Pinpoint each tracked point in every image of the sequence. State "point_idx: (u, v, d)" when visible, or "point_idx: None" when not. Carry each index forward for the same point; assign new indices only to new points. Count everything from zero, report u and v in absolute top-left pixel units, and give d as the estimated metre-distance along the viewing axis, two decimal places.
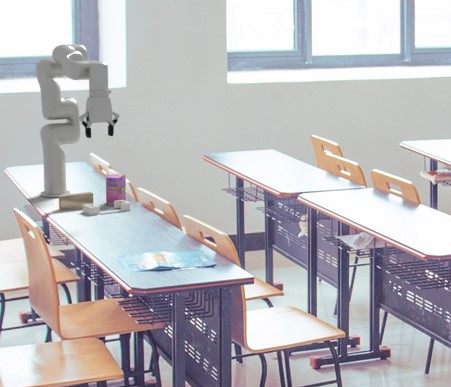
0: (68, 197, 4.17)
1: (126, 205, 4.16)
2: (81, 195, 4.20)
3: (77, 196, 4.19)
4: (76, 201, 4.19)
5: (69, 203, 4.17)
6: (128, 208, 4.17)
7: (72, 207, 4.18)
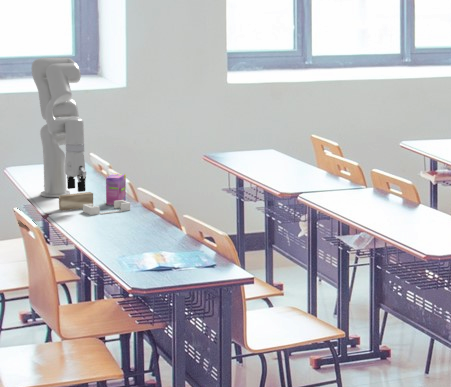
0: (68, 197, 4.17)
1: (126, 205, 4.16)
2: (81, 195, 4.20)
3: (77, 196, 4.19)
4: (76, 201, 4.19)
5: (69, 203, 4.17)
6: (128, 208, 4.17)
7: (72, 207, 4.18)
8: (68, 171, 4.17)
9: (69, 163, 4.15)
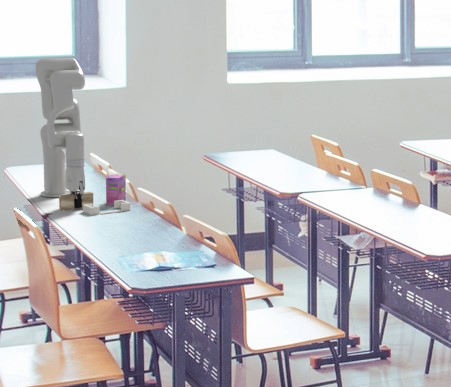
0: (68, 197, 4.16)
1: (126, 205, 4.16)
2: None
3: None
4: None
5: (69, 203, 4.17)
6: (128, 208, 4.17)
7: (72, 207, 4.18)
8: (68, 185, 4.18)
9: (69, 178, 4.17)
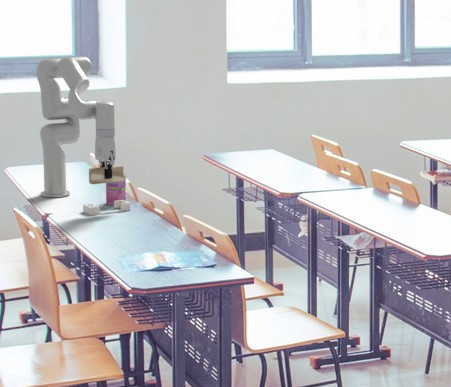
0: (98, 170, 4.09)
1: (126, 205, 4.16)
2: None
3: None
4: None
5: (99, 176, 4.09)
6: (128, 208, 4.17)
7: (102, 181, 4.10)
8: (98, 156, 4.10)
9: (99, 148, 4.09)
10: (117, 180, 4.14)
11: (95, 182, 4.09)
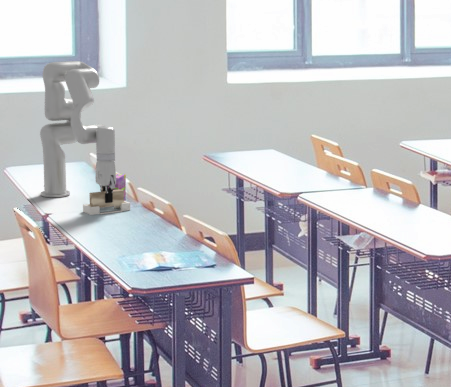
0: (99, 194, 4.10)
1: (126, 205, 4.16)
2: None
3: None
4: None
5: (100, 200, 4.11)
6: (128, 208, 4.17)
7: (103, 205, 4.12)
8: (99, 180, 4.12)
9: (100, 172, 4.11)
10: (118, 204, 4.16)
11: None
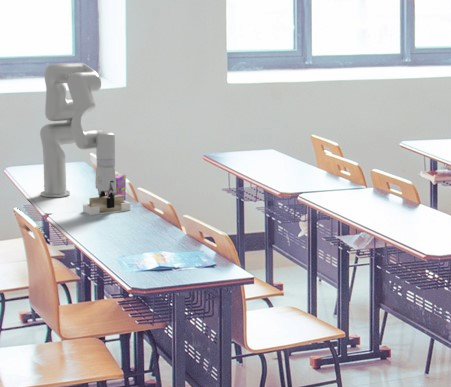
0: (99, 200, 4.11)
1: (126, 205, 4.16)
2: None
3: None
4: None
5: (100, 206, 4.12)
6: (128, 208, 4.17)
7: (103, 210, 4.13)
8: (98, 185, 4.13)
9: (100, 177, 4.11)
10: (117, 209, 4.16)
11: None
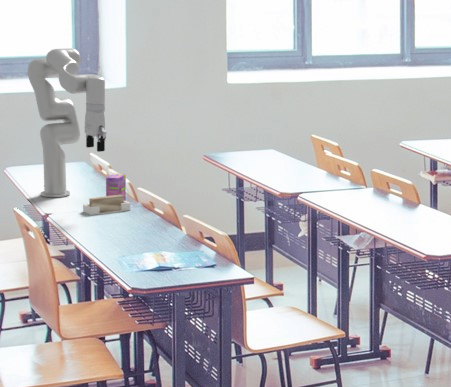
0: (99, 200, 4.11)
1: (126, 205, 4.16)
2: (112, 198, 4.14)
3: (108, 199, 4.13)
4: (107, 204, 4.13)
5: (100, 206, 4.12)
6: (128, 208, 4.17)
7: (103, 210, 4.13)
8: (88, 130, 4.13)
9: (89, 122, 4.11)
10: (117, 209, 4.16)
11: None
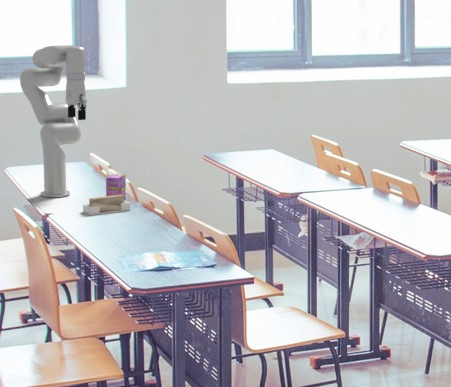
0: (99, 200, 4.11)
1: (126, 205, 4.16)
2: (112, 198, 4.14)
3: (108, 199, 4.13)
4: (107, 204, 4.13)
5: (100, 206, 4.12)
6: (128, 208, 4.17)
7: (103, 210, 4.13)
8: (69, 99, 4.19)
9: (70, 91, 4.17)
10: (117, 209, 4.16)
11: None
